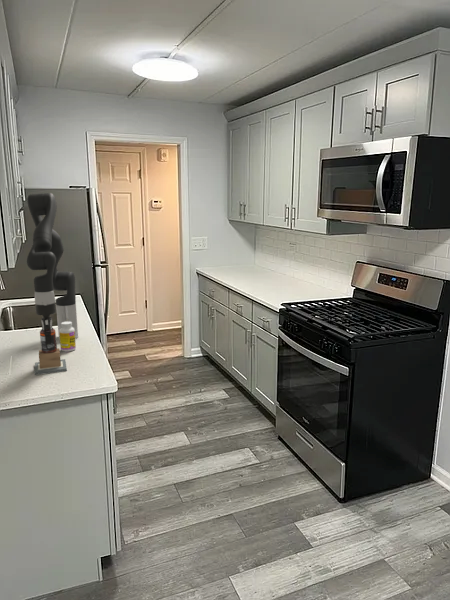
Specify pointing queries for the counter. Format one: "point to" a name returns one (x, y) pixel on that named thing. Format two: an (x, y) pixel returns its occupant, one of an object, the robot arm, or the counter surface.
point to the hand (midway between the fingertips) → (48, 340)
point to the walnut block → (49, 359)
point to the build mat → (51, 369)
